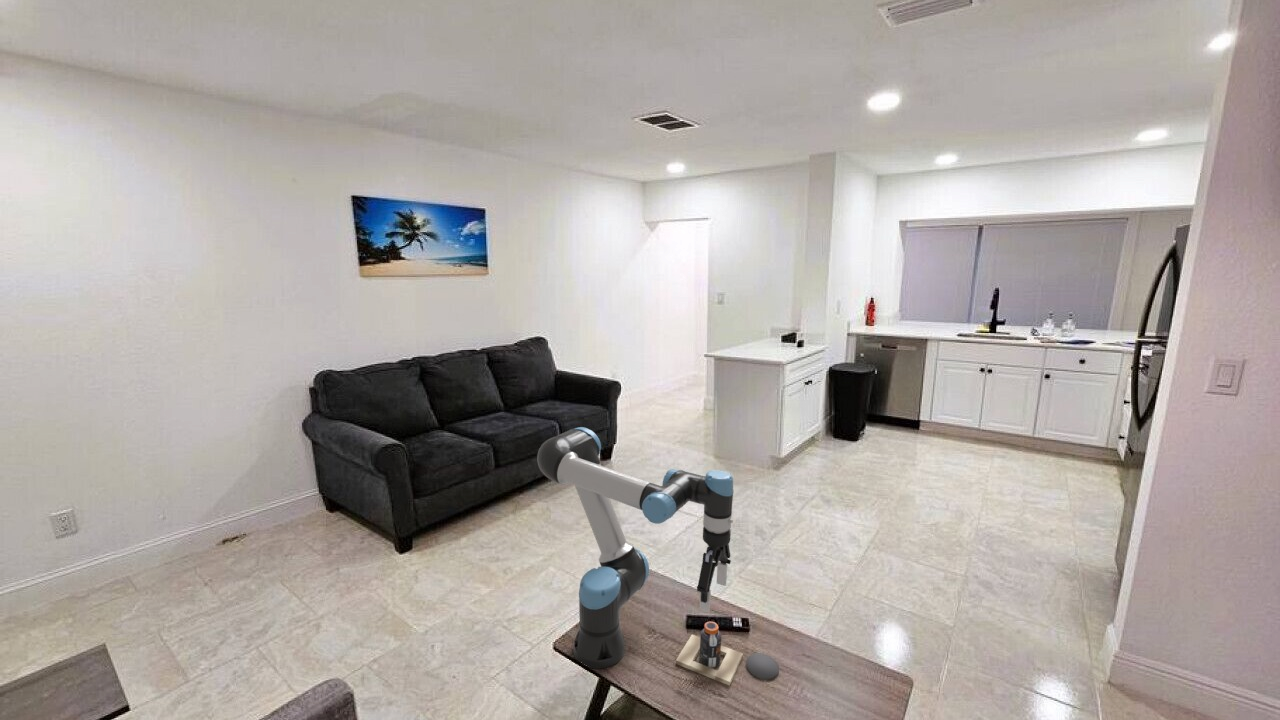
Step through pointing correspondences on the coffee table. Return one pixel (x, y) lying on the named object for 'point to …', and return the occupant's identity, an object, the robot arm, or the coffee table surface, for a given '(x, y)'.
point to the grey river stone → (762, 666)
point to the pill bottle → (710, 645)
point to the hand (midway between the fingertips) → (713, 597)
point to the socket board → (721, 675)
